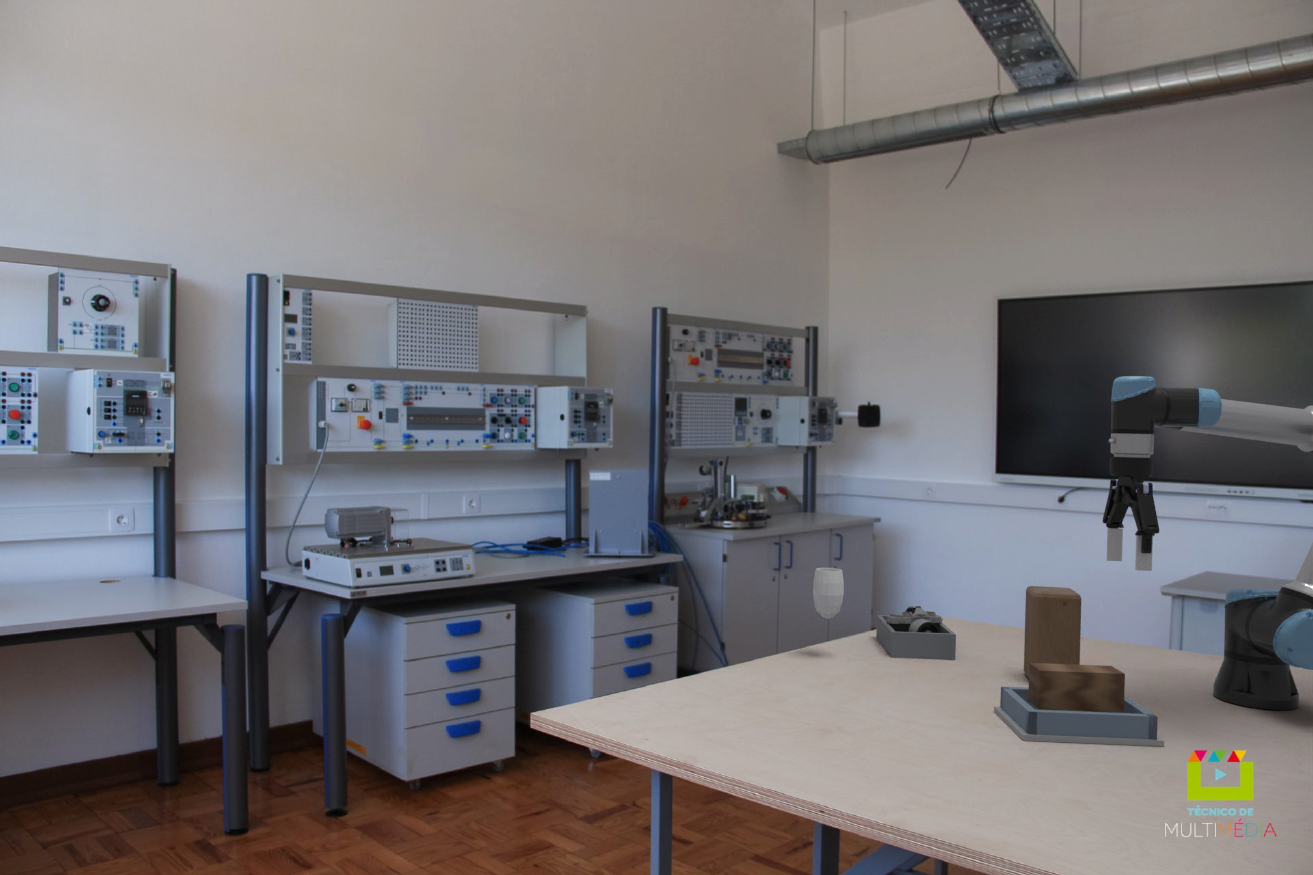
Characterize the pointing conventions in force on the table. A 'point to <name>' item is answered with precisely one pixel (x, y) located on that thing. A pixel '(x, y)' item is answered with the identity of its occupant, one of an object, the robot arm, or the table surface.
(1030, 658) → the wooden block
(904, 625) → the camera
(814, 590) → the cup
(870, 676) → the table surface
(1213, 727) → the table surface
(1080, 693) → the brown wooden bar
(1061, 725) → the peg frame
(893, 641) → the camera corral
